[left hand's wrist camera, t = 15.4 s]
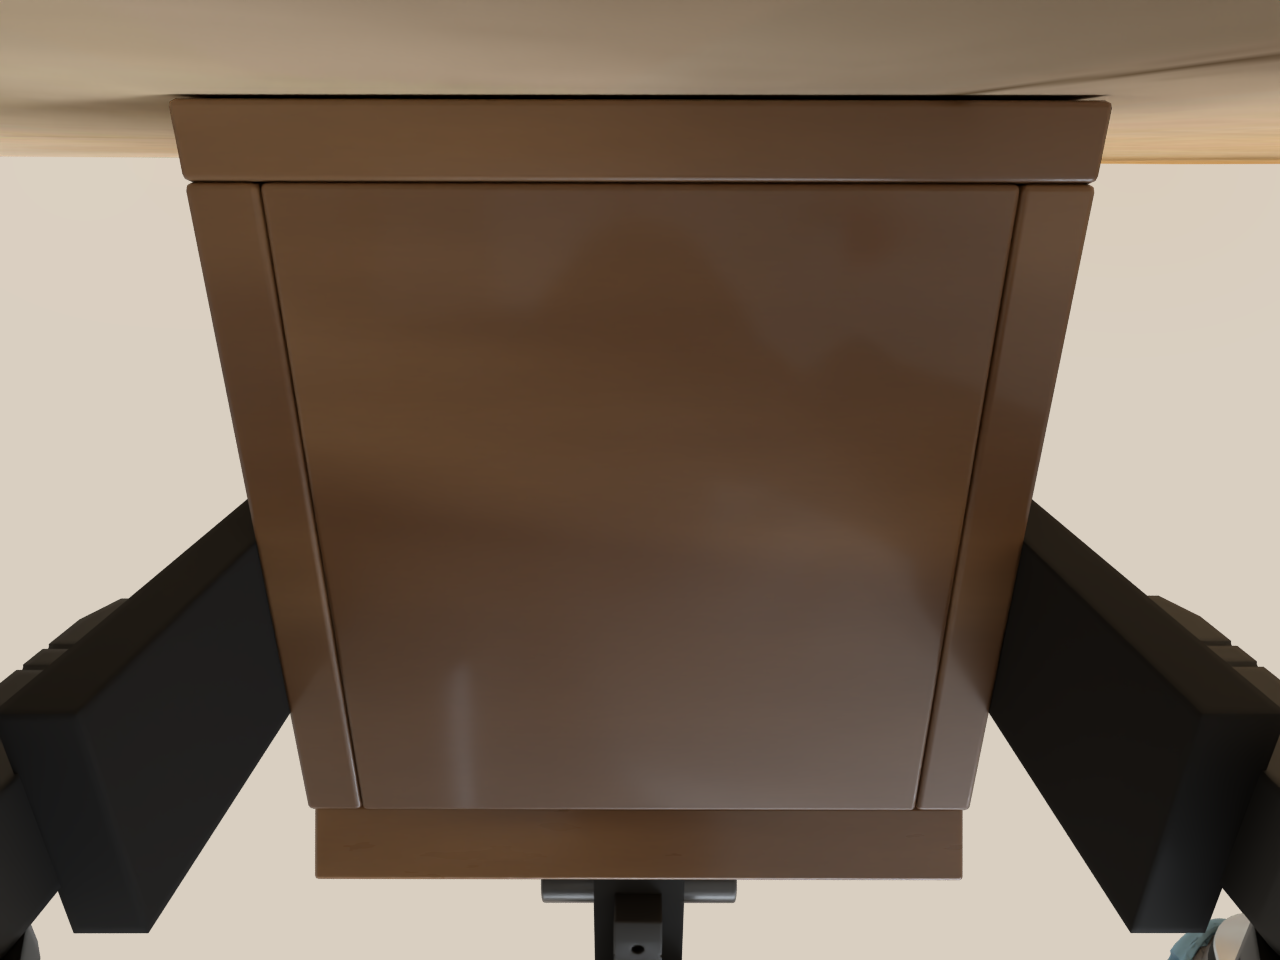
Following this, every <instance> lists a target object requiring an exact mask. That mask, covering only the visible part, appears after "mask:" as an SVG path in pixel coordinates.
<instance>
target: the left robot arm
mask: <svg viewBox="0 0 1280 960" xmlns="http://www.w3.org/2000/svg"><path fill="white" fill-rule="evenodd" d="M289 714H290V709H289V704H288V699H287V694H286V689H285V684H284V679H283V674H282V669H281V664H280V659H279V654H278V649H277V644H276V639H275V634H274V629H273V624H272V619H271V614H270V609H269V604H268V599H267V594H266V588H265V583H264V578H263V573H262V568H261V563H260V558H259V553H258V548H257V543H256V538H255V533H254V528H253V523H252V518H251V513H250V508H249V503H248V499H247V500H246V501H245V502H244V503H242V504H241V505H240V506H239V507H237V508H236V509H235V510H234V511H233V512H232V513H230V514H229V515H228V516H227V517H226V518H224V519H223V520H222V521H221V522H220V523H218V524H217V525H216V526H215V527H214V528H212V529H211V530H210V531H209V532H208V533H206V534H205V535H204V536H203V537H202V538H200V539H199V540H198V541H197V542H196V543H195V544H193V545H192V546H191V547H190V548H189V549H187V550H186V551H185V552H184V553H183V554H181V555H180V556H179V557H178V558H177V559H175V560H174V561H173V562H172V563H171V564H169V565H168V566H167V567H166V568H165V569H163V570H162V571H161V572H160V573H159V574H157V575H156V576H155V577H154V578H153V579H152V580H150V581H149V582H148V583H147V584H146V585H144V586H143V587H142V588H141V589H140V590H138V591H137V592H136V593H135V594H134V595H132V596H131V597H130V598H129V599H120V600H117V601H115V602H113V603H111V604H109V605H108V606H106V607H104V608H102V609H100V610H98V611H96V612H94V613H92V614H90V615H88V616H86V617H84V618H82V619H80V620H78V621H77V622H76V623H75V624H73V625H72V626H71V627H70V628H68V629H67V630H66V631H65V632H63V633H62V634H61V635H60V636H58V637H57V638H56V639H55V640H53V641H52V642H51V643H50V644H49V648H48V649H42V650H41V651H40V652H38V653H37V654H36V655H35V656H33V657H32V658H31V659H30V660H29V661H27V662H26V663H25V664H24V665H23V669H22V670H16V671H15V672H13V673H12V674H11V675H10V676H8V677H7V678H6V679H5V680H3V681H2V682H1V683H0V960H40V953H39V947H38V941H37V939H36V936H35V934H34V931H33V929H32V926H31V923H32V922H33V921H34V920H35V919H36V917H37V916H38V915H39V914H40V912H41V911H42V910H43V909H44V907H45V906H46V905H47V904H48V902H49V901H50V900H51V899H52V897H53V896H54V895H55V894H56V893H57V891H58V893H59V895H60V898H61V901H62V903H63V906H64V909H65V911H66V914H67V916H68V919H69V922H70V924H71V927H72V930H73V932H74V933H149V931H150V930H151V928H152V927H153V925H154V923H155V922H156V920H157V919H158V917H159V916H160V914H161V913H162V911H163V910H164V908H165V906H166V905H167V903H168V902H169V900H170V899H171V897H172V896H173V894H174V892H175V891H176V889H177V888H178V886H179V885H180V883H181V882H182V880H183V878H184V877H185V875H186V874H187V872H188V871H189V869H190V868H191V866H192V864H193V863H194V861H195V860H196V858H197V857H198V855H199V854H200V852H201V851H202V849H203V847H204V846H205V844H206V843H207V841H208V840H209V838H210V836H211V835H212V833H213V832H214V830H215V829H216V827H217V826H218V824H219V823H220V821H221V819H222V818H223V816H224V815H225V813H226V812H227V810H228V809H229V807H230V805H231V804H232V802H233V801H234V799H235V798H236V796H237V795H238V793H239V792H240V790H241V788H242V787H243V785H244V784H245V782H246V781H247V779H248V778H249V776H250V774H251V773H252V771H253V770H254V768H255V767H256V765H257V763H258V762H259V760H260V759H261V757H262V756H263V754H264V753H265V751H266V750H267V748H268V746H269V745H270V743H271V742H272V740H273V739H274V737H275V736H276V734H277V733H278V731H279V729H280V728H281V726H282V725H283V723H284V722H285V720H286V719H287V717H288V715H289ZM989 714H990V715H991V716H992V718H993V720H994V721H995V723H996V724H997V726H998V727H999V729H1000V731H1001V732H1002V734H1003V735H1004V737H1005V738H1006V740H1007V742H1008V743H1009V745H1010V746H1011V748H1012V749H1013V751H1014V752H1015V754H1016V755H1017V757H1018V759H1019V760H1020V762H1021V763H1022V765H1023V766H1024V768H1025V769H1026V771H1027V772H1028V774H1029V776H1030V777H1031V779H1032V780H1033V782H1034V783H1035V785H1036V786H1037V788H1038V790H1039V791H1040V793H1041V794H1042V796H1043V797H1044V799H1045V800H1046V802H1047V804H1048V805H1049V807H1050V808H1051V810H1052V811H1053V813H1054V815H1055V816H1056V818H1057V819H1058V821H1059V822H1060V824H1061V825H1062V827H1063V828H1064V830H1065V831H1066V833H1067V835H1068V836H1069V838H1070V839H1071V841H1072V842H1073V844H1074V846H1075V847H1076V849H1077V850H1078V852H1079V853H1080V855H1081V856H1082V858H1083V859H1084V861H1085V863H1086V864H1087V866H1088V867H1089V869H1090V870H1091V872H1092V874H1093V875H1094V877H1095V878H1096V880H1097V881H1098V883H1099V884H1100V886H1101V888H1102V889H1103V891H1104V892H1105V894H1106V895H1107V897H1108V898H1109V900H1110V901H1111V903H1112V905H1113V906H1114V908H1115V909H1116V911H1117V912H1118V914H1119V915H1120V917H1121V919H1122V920H1123V922H1124V923H1125V925H1126V926H1127V928H1128V929H1129V931H1130V932H1131V933H1205V932H1206V930H1207V927H1208V924H1209V922H1210V919H1211V916H1212V914H1213V911H1214V908H1215V906H1216V903H1217V900H1218V898H1219V895H1220V892H1221V890H1222V888H1223V889H1224V890H1225V892H1226V893H1227V894H1228V895H1229V896H1230V898H1231V899H1232V900H1233V901H1234V903H1235V904H1236V905H1237V906H1238V908H1239V909H1240V910H1241V911H1242V913H1243V914H1244V915H1245V916H1246V917H1247V919H1248V920H1249V921H1250V924H1249V926H1248V929H1247V931H1246V934H1245V936H1244V939H1243V941H1242V944H1241V946H1240V948H1239V951H1238V953H1237V956H1236V958H1235V960H1280V680H1279V679H1278V678H1277V677H1276V676H1274V675H1273V674H1272V673H1271V672H1269V671H1268V670H1267V669H1266V668H1264V667H1258V666H1257V661H1256V660H1254V659H1253V658H1252V657H1250V656H1249V655H1248V654H1247V653H1245V652H1244V651H1243V650H1242V649H1240V648H1239V647H1238V646H1232V645H1231V641H1230V640H1229V639H1228V638H1227V637H1225V636H1224V635H1223V634H1222V633H1220V632H1219V631H1218V630H1217V629H1215V628H1214V627H1213V626H1212V625H1210V624H1209V623H1208V622H1206V621H1205V620H1204V619H1203V618H1201V617H1200V616H1198V615H1196V614H1194V613H1192V612H1190V611H1188V610H1186V609H1184V608H1182V607H1180V606H1178V605H1176V604H1174V603H1172V602H1170V601H1168V600H1166V599H1164V598H1162V597H1160V596H1147V595H1146V594H1144V593H1143V592H1142V591H1141V590H1140V589H1138V588H1137V587H1136V586H1135V585H1134V584H1132V583H1131V582H1130V581H1129V580H1128V579H1126V578H1125V577H1124V576H1123V575H1122V574H1120V573H1119V572H1118V571H1117V570H1116V569H1114V568H1113V567H1112V566H1111V565H1110V564H1109V563H1107V562H1106V561H1105V560H1104V559H1103V558H1101V557H1100V556H1099V555H1098V554H1097V553H1095V552H1094V551H1093V550H1092V549H1091V548H1089V547H1088V546H1087V545H1086V544H1085V543H1083V542H1082V541H1081V540H1080V539H1079V538H1077V537H1076V536H1075V535H1074V534H1073V533H1072V532H1070V531H1069V530H1068V529H1067V528H1065V527H1064V526H1063V525H1062V524H1061V523H1060V522H1058V521H1057V520H1056V519H1055V518H1054V517H1052V516H1051V515H1050V514H1049V513H1048V512H1046V511H1045V510H1044V509H1043V508H1042V507H1040V506H1039V505H1038V504H1037V503H1036V502H1034V501H1033V500H1032V501H1031V506H1030V511H1029V516H1028V521H1027V526H1026V531H1025V535H1024V540H1023V545H1022V550H1021V555H1020V560H1019V565H1018V570H1017V575H1016V580H1015V585H1014V590H1013V595H1012V599H1011V604H1010V609H1009V614H1008V619H1007V624H1006V629H1005V634H1004V639H1003V644H1002V649H1001V654H1000V659H999V663H998V668H997V673H996V678H995V683H994V688H993V693H992V698H991V703H990V708H989Z"/></svg>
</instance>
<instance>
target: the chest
mask: <svg viewBox="0 0 1280 960" xmlns="http://www.w3.org/2000/svg"><path fill="white" fill-rule="evenodd" d="M169 108H170V113H171V118H172V123H173V128H174V133H175V138H176V143H177V149H178V154H179V158H180V164H181V169H182V174H183V176H184V178H185V179H187V180H189V181H192V183H190V184H188V185H187V196H188V201H189V206H190V211H191V216H192V221H193V226H194V231H195V236H196V241H197V246H198V251H199V257H200V262H201V267H202V272H203V277H204V282H205V287H206V292H207V297H208V302H209V307H210V312H211V317H212V322H213V327H214V332H215V337H216V342H217V347H218V352H219V357H220V362H221V367H222V372H223V377H224V382H225V387H226V392H227V397H228V402H229V407H230V412H231V417H232V422H233V428H234V433H235V437H236V443H237V448H238V453H239V458H240V463H241V468H242V473H243V478H244V483H245V488H246V493H247V498H248V503H249V508H250V513H251V518H252V523H253V528H254V533H255V538H256V543H257V548H258V553H259V558H260V563H261V568H262V573H263V578H264V583H265V588H266V594H267V599H268V604H269V609H270V614H271V619H272V624H273V629H274V634H275V639H276V644H277V649H278V654H279V659H280V664H281V669H282V674H283V679H284V684H285V689H286V694H287V699H288V704H289V709H290V714H291V719H292V724H293V729H294V734H295V739H296V744H297V749H298V754H299V759H300V765H301V770H302V775H303V780H304V785H305V790H306V795H307V800H308V805H309V806H310V807H311V808H313V809H357V808H360V807H361V806H362V804H363V806H364V808H366V809H578V810H912V809H914V807H915V805H916V807H917V808H918V809H920V810H966V809H968V808H969V806H970V801H971V796H972V791H973V786H974V782H975V776H976V772H977V767H978V762H979V757H980V752H981V747H982V742H983V737H984V732H985V727H986V722H987V718H988V713H989V708H990V703H991V698H992V693H993V688H994V683H995V678H996V673H997V668H998V663H999V659H1000V654H1001V649H1002V644H1003V639H1004V634H1005V629H1006V624H1007V619H1008V614H1009V609H1010V604H1011V599H1012V595H1013V590H1014V585H1015V580H1016V575H1017V570H1018V565H1019V560H1020V555H1021V550H1022V545H1023V540H1024V535H1025V531H1026V526H1027V521H1028V516H1029V511H1030V506H1031V501H1032V496H1033V491H1034V486H1035V481H1036V476H1037V471H1038V467H1039V462H1040V457H1041V452H1042V447H1043V442H1044V437H1045V432H1046V427H1047V422H1048V417H1049V412H1050V407H1051V402H1052V397H1053V393H1054V388H1055V383H1056V378H1057V373H1058V368H1059V363H1060V358H1061V353H1062V348H1063V344H1064V339H1065V334H1066V329H1067V324H1068V319H1069V314H1070V309H1071V304H1072V299H1073V294H1074V289H1075V284H1076V279H1077V274H1078V270H1079V265H1080V260H1081V255H1082V250H1083V245H1084V240H1085V235H1086V230H1087V225H1088V220H1089V216H1090V211H1091V206H1092V201H1093V196H1094V188H1093V187H1092V186H1090V185H1088V184H1089V183H1091V182H1094V181H1095V180H1096V179H1097V177H1098V173H1099V168H1100V163H1101V158H1102V154H1103V149H1104V144H1105V139H1106V134H1107V129H1108V124H1109V119H1110V114H1111V109H1112V107H1111V103H1109V102H1107V101H1105V100H674V99H235V98H176V99H174V100H172V101H170V103H169Z"/></svg>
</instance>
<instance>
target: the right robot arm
mask: <svg viewBox="0 0 1280 960" xmlns="http://www.w3.org/2000/svg"><path fill="white" fill-rule="evenodd" d="M593 880H594V932H595V960H682V939H683V912H684V885H685V879H593ZM1249 924H1250V921H1249V920H1248V919H1247V917H1246V916H1245V915H1244V914H1243V913H1242V914H1237V915H1234V916H1231V917H1229V918H1227V919H1212V920H1210V922H1209V924H1208V927H1207V930H1206V932H1205V933H1186V934H1185V935H1184V936H1183V937H1181V938H1180V940H1179V941H1178V942H1176V943H1175V945H1174V946H1173V948H1172V949H1171V950H1170V951H1171V955H1170V957H1169V959H1168V960H1235V958H1236V956H1237V953H1238V951H1239V948H1240V946H1241V944H1242V941H1243V939H1244V936H1245V934H1246V931H1247V929H1248V926H1249Z"/></svg>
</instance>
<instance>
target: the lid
mask: <svg viewBox="0 0 1280 960" xmlns="http://www.w3.org/2000/svg"><path fill="white" fill-rule="evenodd" d="M315 876H316V878H318V879H541V895H542V900H543V902H545V903H594V880H593V879H685V885H684V903H734V902H735V900H736V891H737V880H960V879H962V810H920V809H918V808H917V807H916V805H915V807H914V809H912V810H578V809H366V808H364V806H363V804H362V806H361V807H360V808H357V809H316V811H315Z"/></svg>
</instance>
